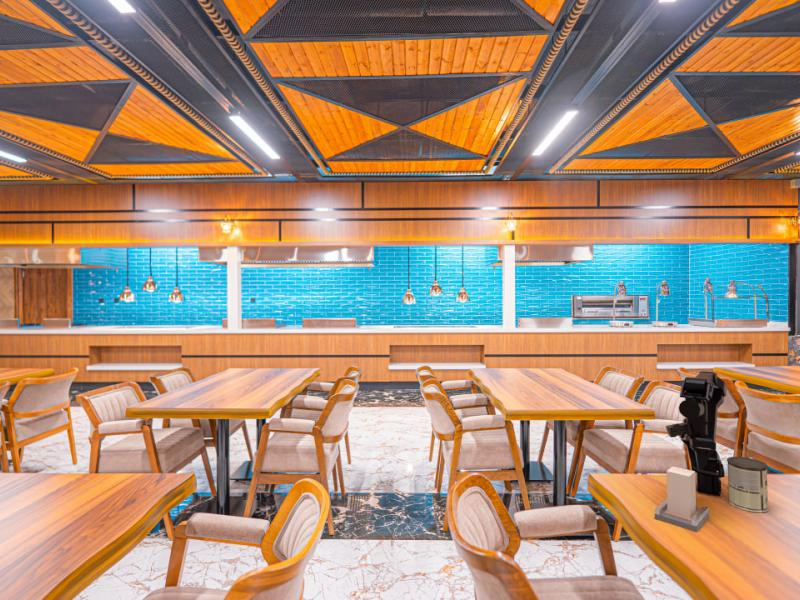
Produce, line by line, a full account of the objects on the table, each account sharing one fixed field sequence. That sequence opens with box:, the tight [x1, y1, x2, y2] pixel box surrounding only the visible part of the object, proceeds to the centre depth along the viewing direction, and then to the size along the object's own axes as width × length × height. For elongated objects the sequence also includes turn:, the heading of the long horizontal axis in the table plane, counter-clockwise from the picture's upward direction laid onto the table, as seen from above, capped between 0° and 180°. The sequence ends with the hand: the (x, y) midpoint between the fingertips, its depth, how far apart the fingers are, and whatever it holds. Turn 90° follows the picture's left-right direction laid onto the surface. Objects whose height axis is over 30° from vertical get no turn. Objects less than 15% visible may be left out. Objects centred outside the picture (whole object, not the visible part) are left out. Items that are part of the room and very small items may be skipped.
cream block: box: [666, 465, 697, 519], centre depth 134 cm, size 6×6×12 cm
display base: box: [654, 497, 710, 533], centre depth 134 cm, size 13×11×3 cm
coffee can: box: [726, 456, 769, 514], centre depth 142 cm, size 10×10×14 cm
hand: (696, 466), depth 141 cm, fingers open, 9 cm apart
